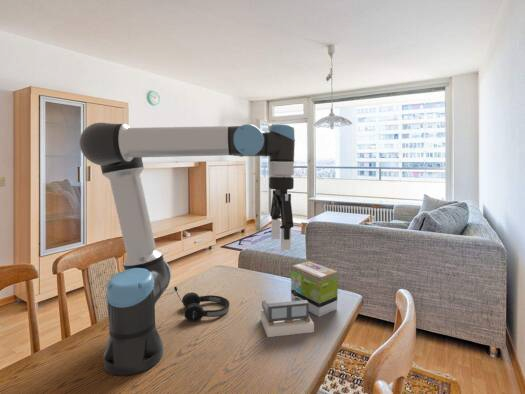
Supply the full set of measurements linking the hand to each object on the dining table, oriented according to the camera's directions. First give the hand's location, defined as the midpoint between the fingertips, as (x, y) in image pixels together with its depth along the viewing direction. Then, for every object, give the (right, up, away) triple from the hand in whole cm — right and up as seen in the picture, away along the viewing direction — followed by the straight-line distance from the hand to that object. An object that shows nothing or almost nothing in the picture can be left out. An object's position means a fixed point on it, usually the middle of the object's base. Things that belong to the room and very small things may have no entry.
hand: (280, 244), depth 97 cm
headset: (-27, -27, +15) cm, 41 cm away
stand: (+2, -28, +4) cm, 28 cm away
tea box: (+14, -26, +18) cm, 35 cm away
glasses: (+2, -23, +5) cm, 24 cm away
